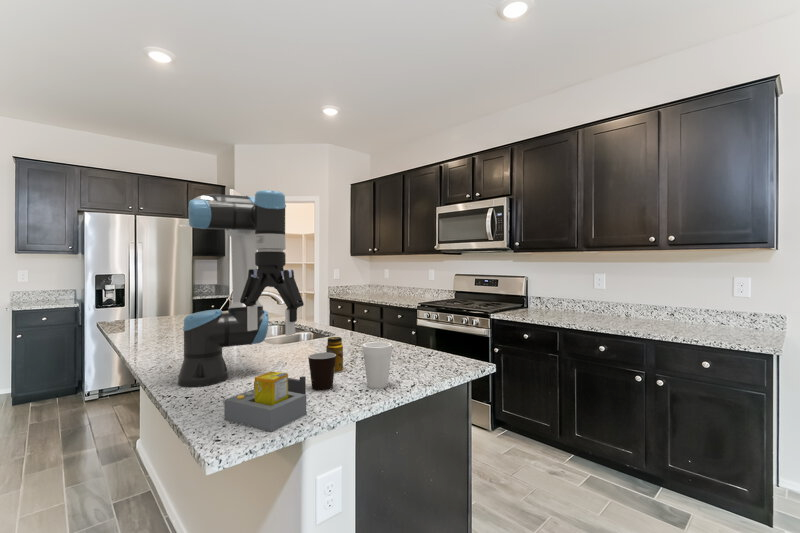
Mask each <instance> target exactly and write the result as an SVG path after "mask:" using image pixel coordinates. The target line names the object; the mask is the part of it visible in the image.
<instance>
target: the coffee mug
mask: <svg viewBox="0 0 800 533" xmlns="http://www.w3.org/2000/svg"><path fill="white" fill-rule="evenodd" d="M307 358H308V359H307V360H308V365H309V366H308V367H309V372H310V373H309V374H310V382H311V390H314V391H318V392H319V391H321V392H322V391H329V390H331V389H333V387H334V378H335V373H334V370H335V360H336V354H334V353H326V352H316V353H312V354H309V355H308V356H307Z"/></svg>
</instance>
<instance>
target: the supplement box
mask: <svg viewBox="0 0 800 533" xmlns="http://www.w3.org/2000/svg"><path fill="white" fill-rule="evenodd" d="M288 378H289V373H288V372H280V371H271V370H270V371H267V372H264V373H262V374H260V375H257V376H254V381H255V403H260V404H265V405H269V406H272V405H275V404H277V403H280V402H282V401H284V400H287V399H288Z"/></svg>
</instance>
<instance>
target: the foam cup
mask: <svg viewBox="0 0 800 533" xmlns="http://www.w3.org/2000/svg"><path fill="white" fill-rule="evenodd" d="M361 346H362V348H361V349H362V354H363V361H364V368H365V369H364V370H365V375H366V384H367V387H368V388H370V389H383V388H386V387H388V383H389V376H390V375H389V374H390V366H391V358H392V353H393V343H392V342H387V341H372V342H370V341H369V342H365V343H363V344H362V345H361Z"/></svg>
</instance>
